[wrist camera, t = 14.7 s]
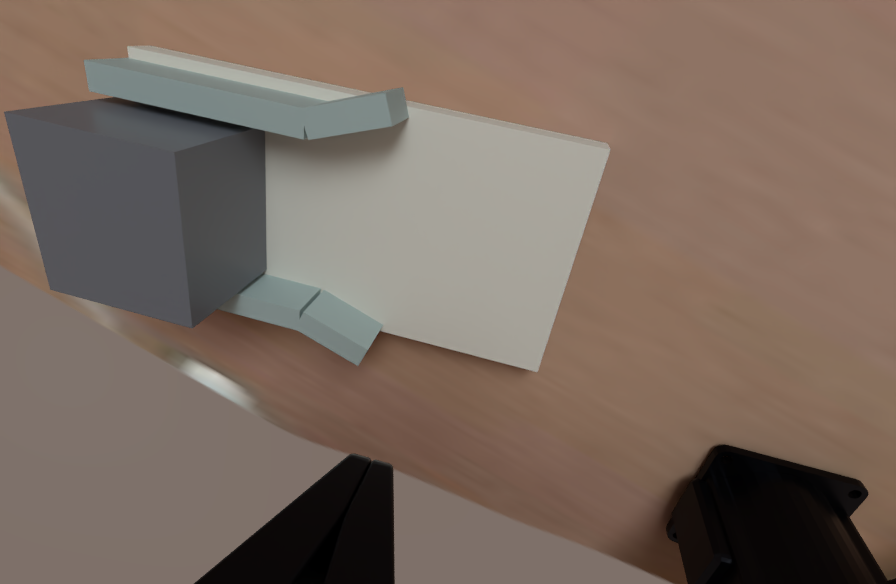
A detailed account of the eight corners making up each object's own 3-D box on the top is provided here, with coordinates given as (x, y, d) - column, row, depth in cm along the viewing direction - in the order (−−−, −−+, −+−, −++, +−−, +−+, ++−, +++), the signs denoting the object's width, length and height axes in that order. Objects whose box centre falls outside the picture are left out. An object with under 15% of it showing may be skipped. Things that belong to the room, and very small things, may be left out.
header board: (612, 126, 17) (627, 150, 14) (535, 366, 22) (530, 430, 19) (148, 29, 19) (50, 27, 15) (177, 273, 24) (108, 314, 20)
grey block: (265, 125, 18) (174, 152, 14) (266, 269, 21) (192, 328, 17) (131, 94, 19) (3, 111, 15) (151, 239, 22) (50, 289, 18)
